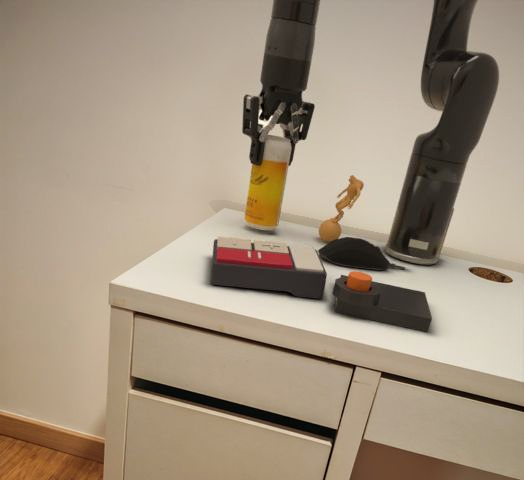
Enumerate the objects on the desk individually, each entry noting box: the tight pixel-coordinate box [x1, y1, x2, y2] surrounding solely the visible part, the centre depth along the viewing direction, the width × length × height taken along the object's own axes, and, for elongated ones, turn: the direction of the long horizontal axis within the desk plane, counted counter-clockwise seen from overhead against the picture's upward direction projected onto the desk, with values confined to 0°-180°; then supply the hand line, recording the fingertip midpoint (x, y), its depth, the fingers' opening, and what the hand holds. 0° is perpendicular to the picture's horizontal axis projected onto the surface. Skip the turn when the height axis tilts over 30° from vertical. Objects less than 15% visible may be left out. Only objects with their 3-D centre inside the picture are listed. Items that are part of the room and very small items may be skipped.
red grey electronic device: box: [210, 236, 328, 299], centre depth 81 cm, size 11×4×15 cm
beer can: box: [244, 134, 292, 231], centre depth 100 cm, size 6×6×15 cm
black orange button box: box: [332, 274, 433, 333], centre depth 77 cm, size 11×13×4 cm
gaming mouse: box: [317, 236, 406, 271], centre depth 95 cm, size 6×15×4 cm, turn 95°
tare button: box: [346, 270, 373, 291], centre depth 74 cm, size 3×3×2 cm
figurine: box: [318, 174, 365, 243], centre depth 102 cm, size 8×6×12 cm
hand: (270, 164), depth 99 cm, fingers closed on beer can, 6 cm apart
